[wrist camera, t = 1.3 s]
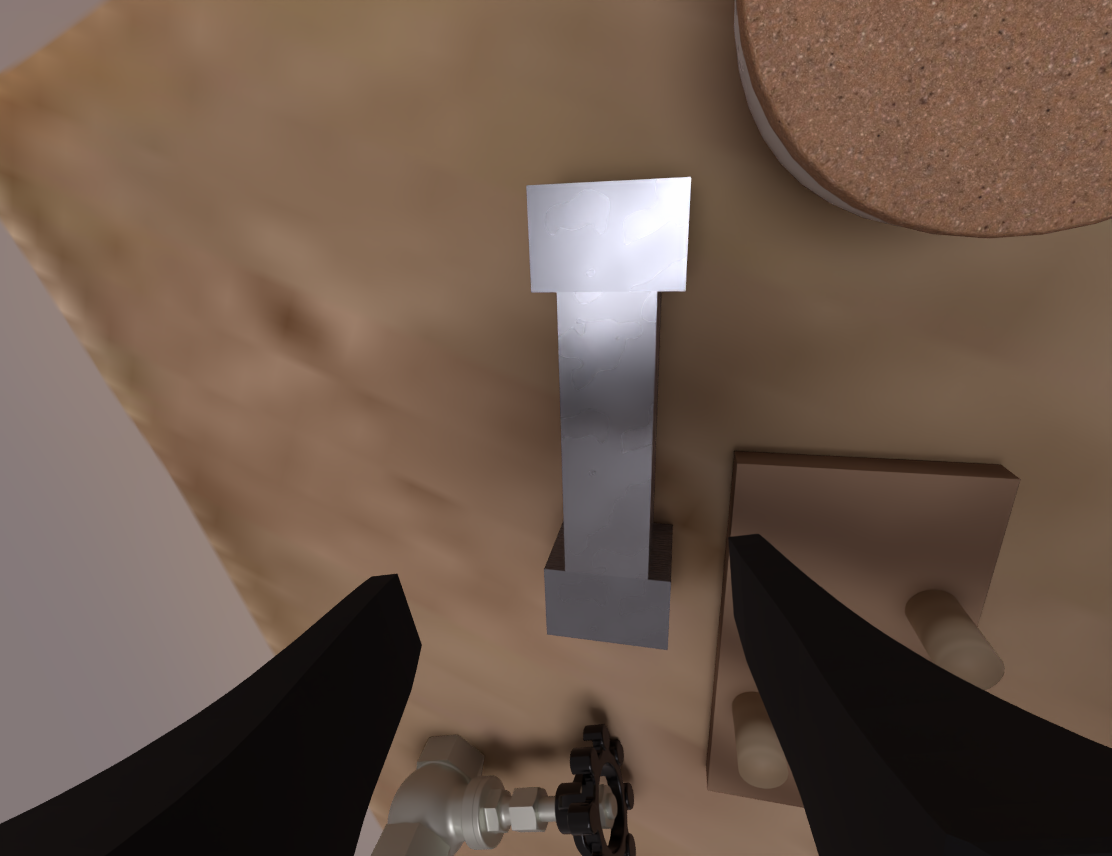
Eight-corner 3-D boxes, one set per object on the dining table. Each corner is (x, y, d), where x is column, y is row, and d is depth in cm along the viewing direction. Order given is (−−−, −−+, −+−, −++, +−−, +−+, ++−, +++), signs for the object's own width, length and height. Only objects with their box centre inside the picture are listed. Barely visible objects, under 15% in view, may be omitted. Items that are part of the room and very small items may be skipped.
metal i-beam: (556, 193, 19) (526, 185, 16) (689, 186, 18) (691, 176, 15) (567, 573, 25) (547, 634, 21) (669, 584, 24) (667, 649, 20)
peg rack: (734, 451, 21) (746, 501, 17) (1001, 464, 19) (1082, 525, 15) (706, 767, 27) (710, 857, 23) (908, 801, 25) (949, 906, 21)
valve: (447, 799, 32) (641, 789, 29) (393, 931, 26) (630, 940, 22) (401, 715, 31) (601, 692, 27) (332, 835, 24) (577, 828, 21)
